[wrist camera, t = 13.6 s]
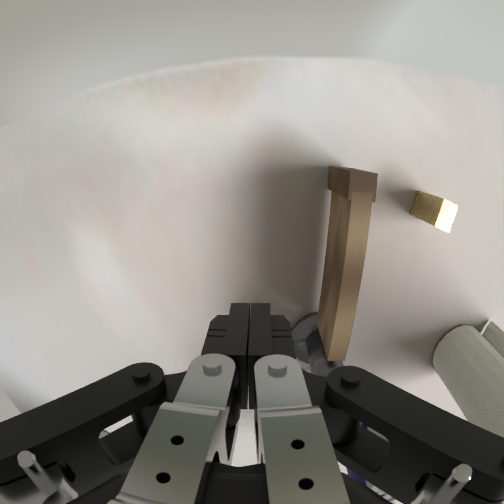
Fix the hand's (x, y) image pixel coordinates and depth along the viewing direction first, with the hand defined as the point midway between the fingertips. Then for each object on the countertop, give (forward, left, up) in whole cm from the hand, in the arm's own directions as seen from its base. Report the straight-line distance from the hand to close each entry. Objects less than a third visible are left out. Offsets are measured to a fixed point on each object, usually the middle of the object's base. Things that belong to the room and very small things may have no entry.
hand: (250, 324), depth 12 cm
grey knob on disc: (-6, -8, -12) cm, 15 cm away
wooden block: (+1, -6, -11) cm, 13 cm away
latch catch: (+7, -12, -12) cm, 18 cm away
